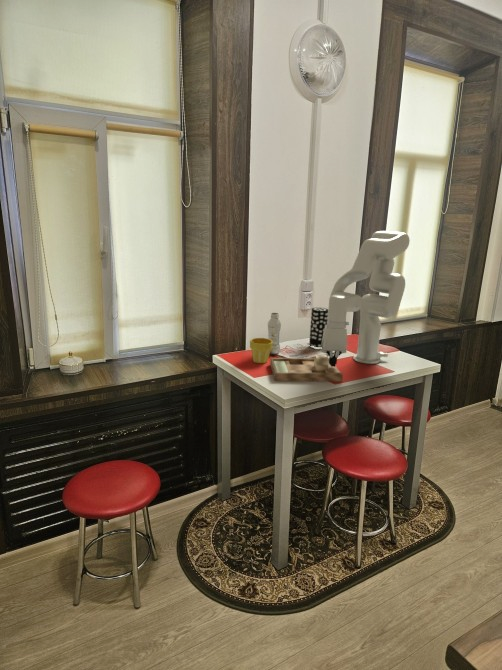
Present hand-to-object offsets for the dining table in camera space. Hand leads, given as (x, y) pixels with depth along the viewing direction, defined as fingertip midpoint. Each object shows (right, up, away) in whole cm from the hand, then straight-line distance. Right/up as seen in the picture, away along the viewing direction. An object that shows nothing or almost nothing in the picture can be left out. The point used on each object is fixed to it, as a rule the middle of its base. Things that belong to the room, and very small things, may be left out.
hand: (332, 365), depth 189 cm
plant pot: (-31, +1, +14) cm, 34 cm away
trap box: (-12, -3, 0) cm, 12 cm away
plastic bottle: (-24, +4, +25) cm, 35 cm away
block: (-5, -1, 0) cm, 5 cm away
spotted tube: (-1, +7, +37) cm, 37 cm away
